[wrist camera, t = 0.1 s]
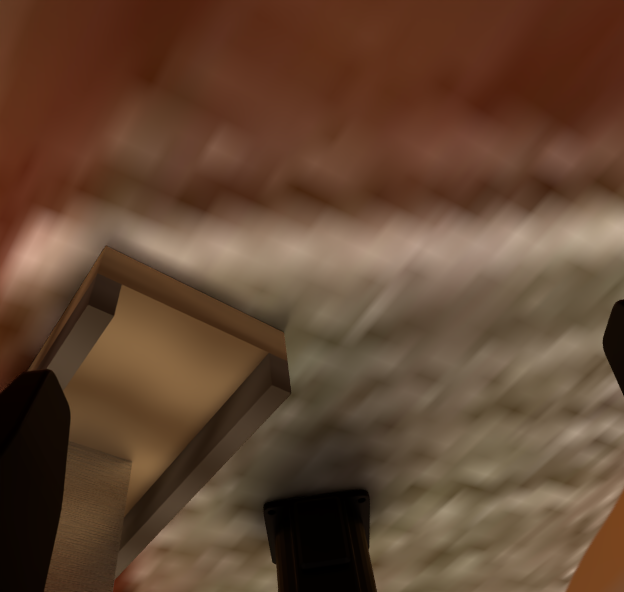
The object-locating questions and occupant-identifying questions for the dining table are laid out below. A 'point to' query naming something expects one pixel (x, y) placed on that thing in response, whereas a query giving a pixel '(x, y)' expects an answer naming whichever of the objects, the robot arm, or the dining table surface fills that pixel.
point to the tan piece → (161, 384)
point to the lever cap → (89, 521)
